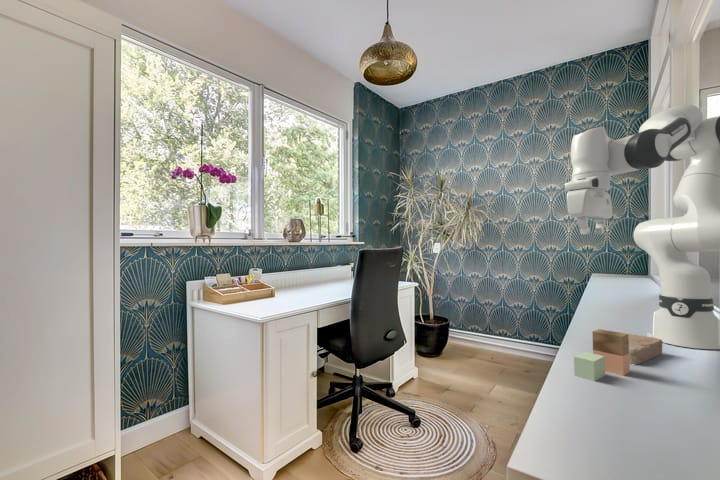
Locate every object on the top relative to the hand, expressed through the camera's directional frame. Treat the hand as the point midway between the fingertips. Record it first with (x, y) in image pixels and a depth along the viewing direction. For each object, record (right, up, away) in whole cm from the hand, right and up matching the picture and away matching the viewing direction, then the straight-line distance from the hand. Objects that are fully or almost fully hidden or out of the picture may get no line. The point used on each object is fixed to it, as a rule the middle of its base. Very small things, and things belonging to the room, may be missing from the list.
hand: (592, 234), depth 93 cm
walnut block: (-5, -29, -13) cm, 32 cm away
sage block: (-12, -33, -16) cm, 39 cm away
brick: (+9, -34, -2) cm, 35 cm away
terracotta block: (-5, -33, -13) cm, 36 cm away
